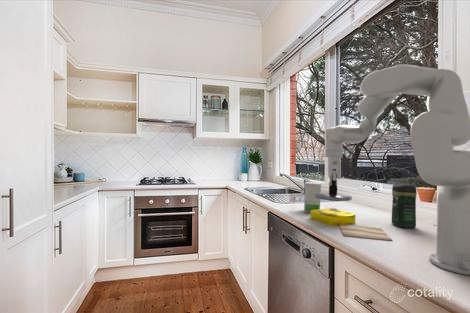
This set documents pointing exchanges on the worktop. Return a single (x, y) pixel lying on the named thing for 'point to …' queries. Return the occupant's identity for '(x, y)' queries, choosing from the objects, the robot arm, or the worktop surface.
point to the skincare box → (311, 196)
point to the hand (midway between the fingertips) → (332, 193)
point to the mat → (364, 232)
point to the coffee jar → (404, 205)
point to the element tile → (333, 216)
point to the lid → (333, 196)
